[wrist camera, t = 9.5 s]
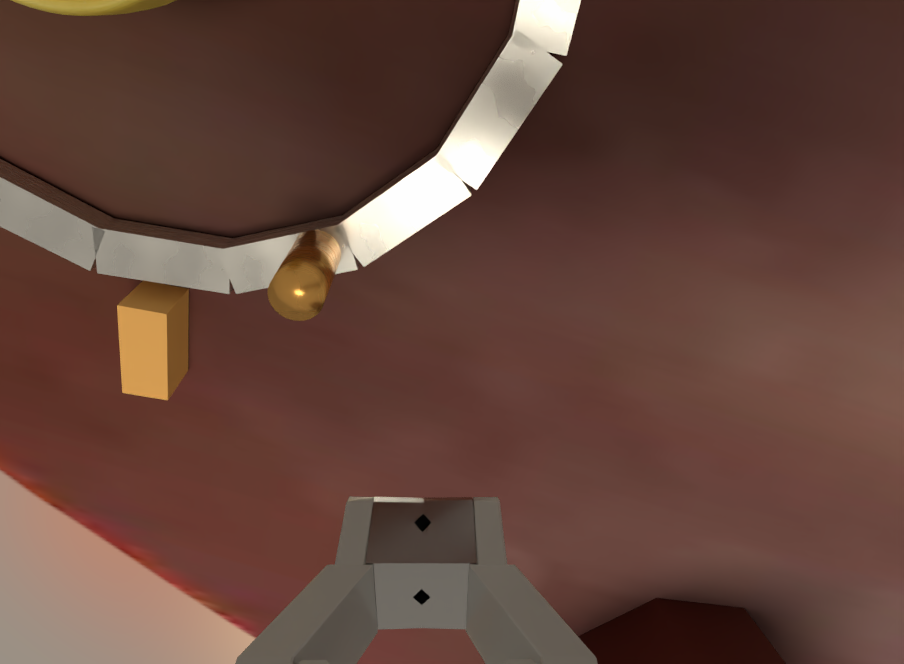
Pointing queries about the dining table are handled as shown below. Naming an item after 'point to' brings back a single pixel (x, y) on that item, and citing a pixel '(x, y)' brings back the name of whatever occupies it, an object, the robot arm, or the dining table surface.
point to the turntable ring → (324, 241)
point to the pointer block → (153, 339)
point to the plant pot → (93, 6)
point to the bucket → (681, 636)
